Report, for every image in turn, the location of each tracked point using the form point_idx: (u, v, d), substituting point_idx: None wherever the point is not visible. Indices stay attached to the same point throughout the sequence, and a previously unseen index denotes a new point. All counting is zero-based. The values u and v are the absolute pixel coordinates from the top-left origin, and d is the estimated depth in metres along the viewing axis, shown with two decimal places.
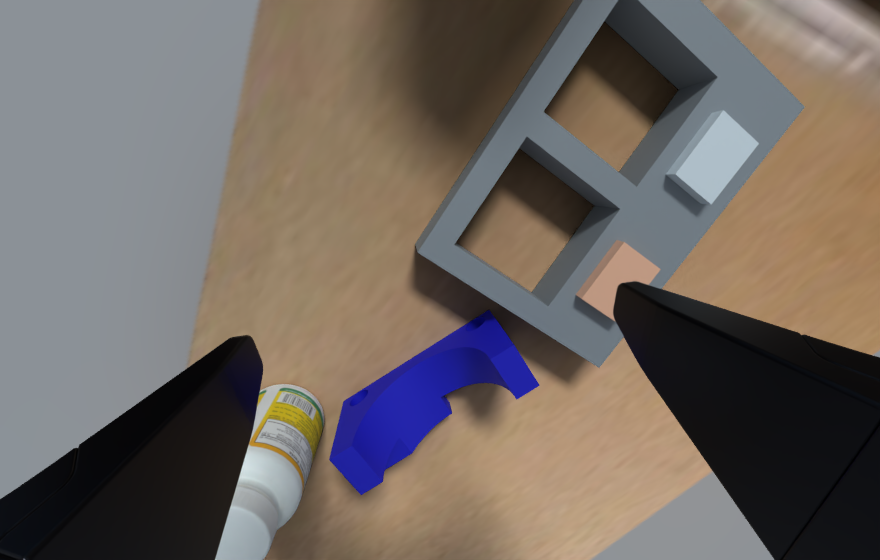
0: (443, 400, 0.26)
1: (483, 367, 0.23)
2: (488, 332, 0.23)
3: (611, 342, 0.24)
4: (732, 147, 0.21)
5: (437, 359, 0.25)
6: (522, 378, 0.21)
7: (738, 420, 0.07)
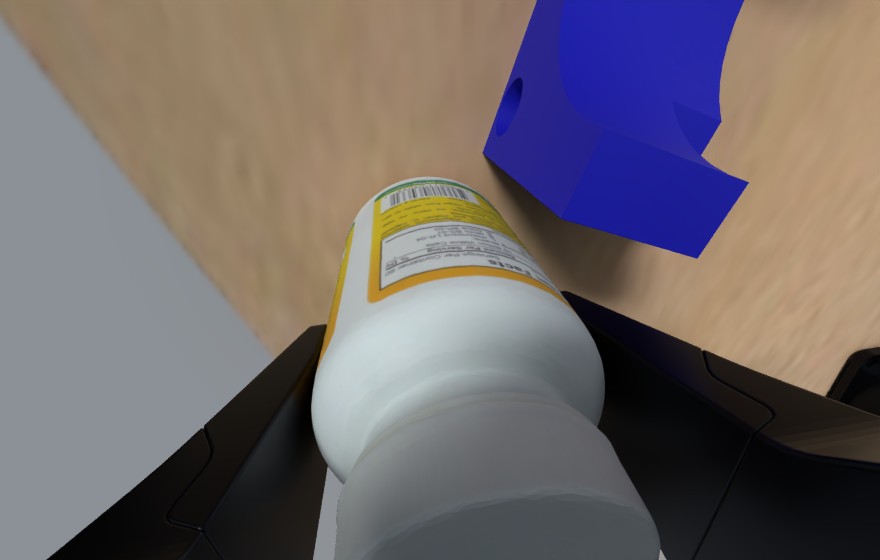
0: None
1: None
2: None
3: None
4: None
5: None
6: None
7: (642, 437, 0.07)
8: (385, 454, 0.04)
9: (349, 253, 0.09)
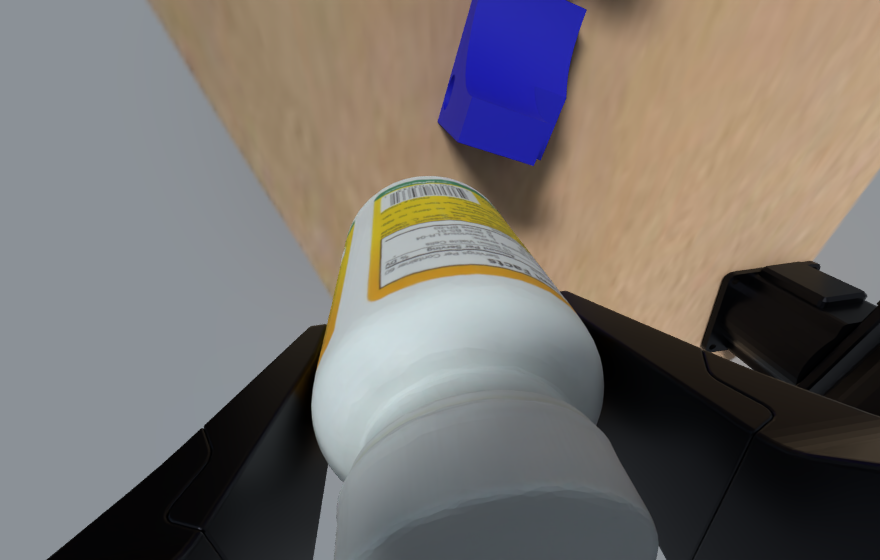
0: None
1: None
2: None
3: None
4: None
5: None
6: None
7: (642, 437, 0.07)
8: (386, 451, 0.04)
9: (349, 252, 0.09)
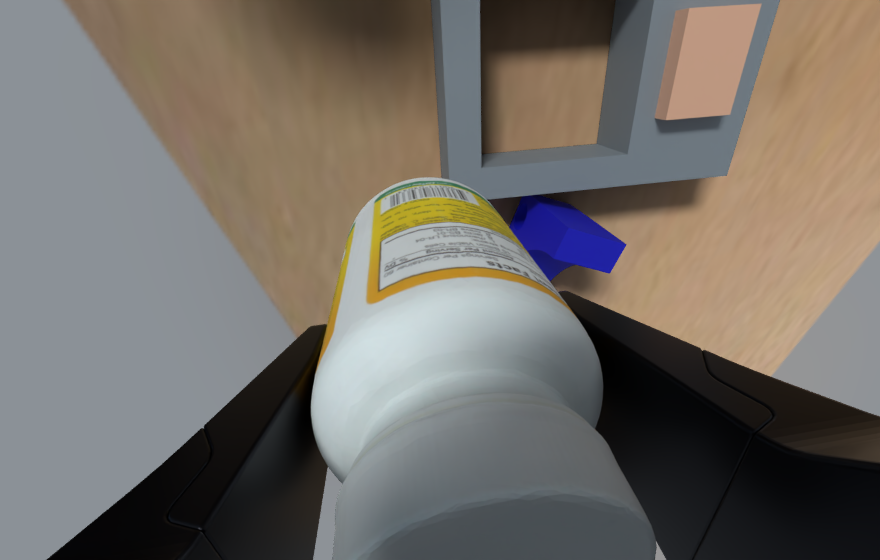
0: None
1: None
2: (537, 222, 0.19)
3: (729, 139, 0.18)
4: None
5: None
6: (602, 251, 0.17)
7: (642, 437, 0.07)
8: (383, 454, 0.04)
9: (349, 254, 0.09)
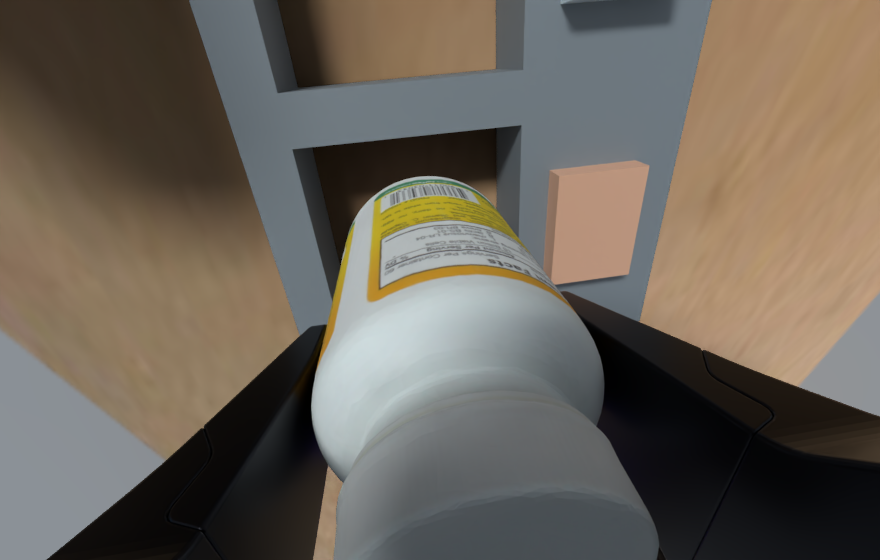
0: None
1: None
2: None
3: (637, 287, 0.16)
4: None
5: None
6: None
7: (642, 437, 0.07)
8: (385, 453, 0.04)
9: (349, 252, 0.09)
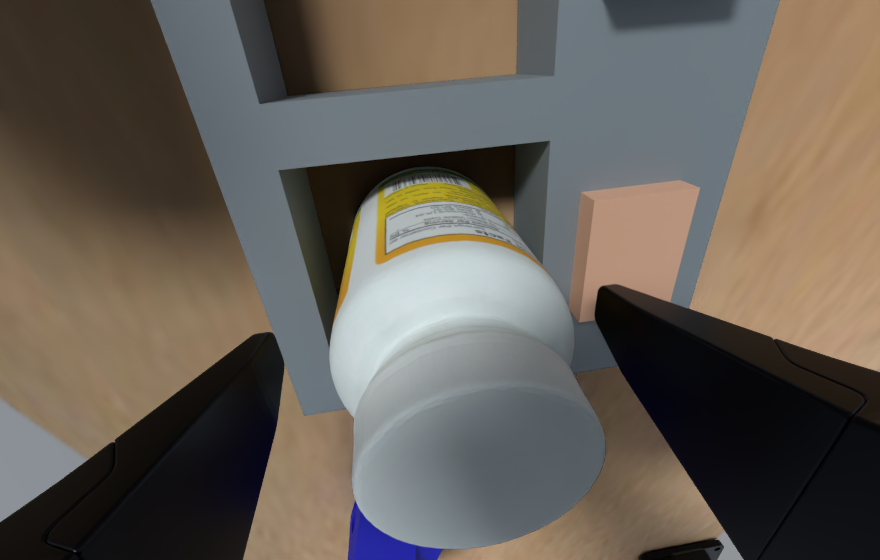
0: None
1: None
2: None
3: None
4: None
5: None
6: None
7: (711, 425, 0.07)
8: (392, 371, 0.06)
9: (357, 232, 0.10)
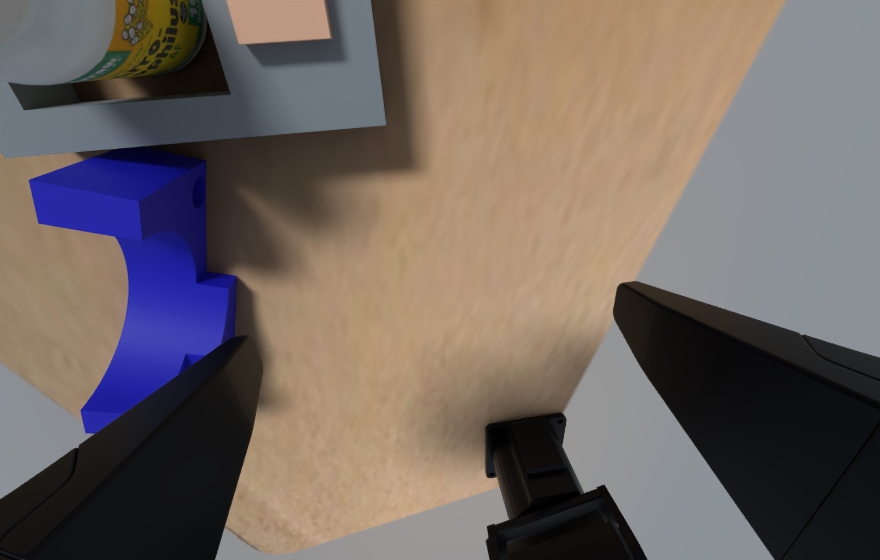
0: (205, 283, 0.20)
1: None
2: None
3: (368, 75, 0.14)
4: None
5: (131, 252, 0.18)
6: (107, 211, 0.13)
7: (738, 420, 0.07)
8: None
9: None
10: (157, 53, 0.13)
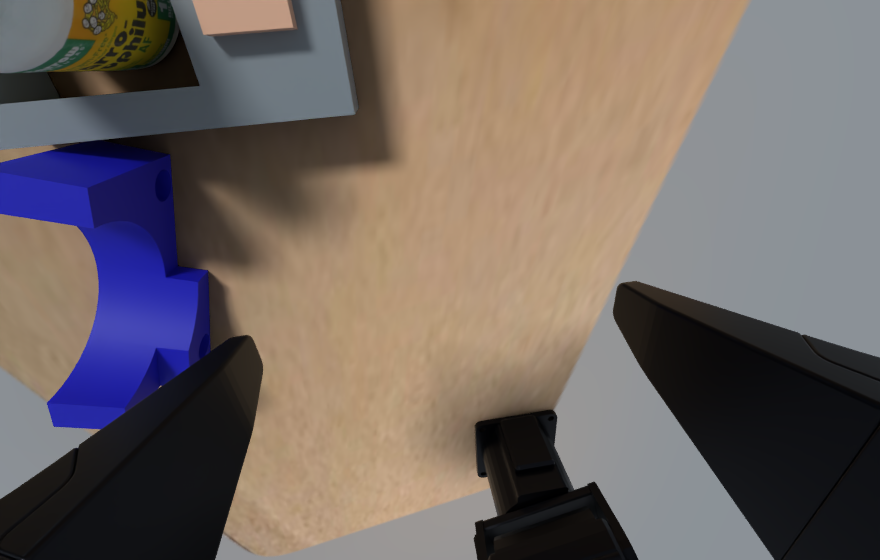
0: (175, 277, 0.20)
1: None
2: None
3: (334, 65, 0.15)
4: None
5: (98, 246, 0.18)
6: (57, 199, 0.13)
7: (738, 420, 0.07)
8: None
9: None
10: (124, 45, 0.13)
